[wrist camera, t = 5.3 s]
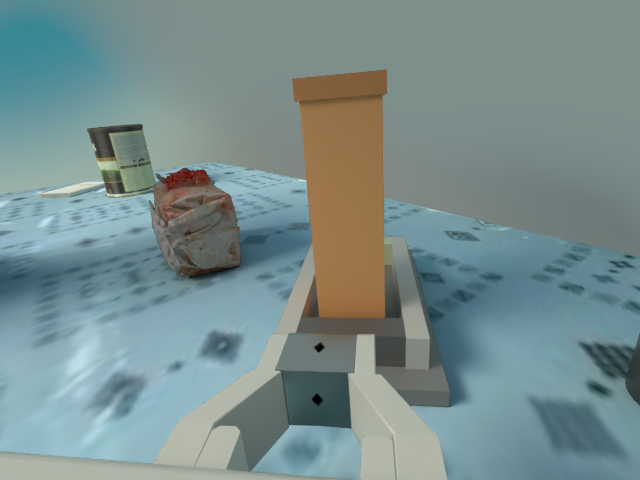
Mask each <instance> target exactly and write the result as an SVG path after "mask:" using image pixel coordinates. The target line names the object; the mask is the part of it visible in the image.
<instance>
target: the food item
mask: <svg viewBox="0 0 640 480" xmlns="http://www.w3.org/2000/svg"><path fill="white" fill-rule="evenodd" d="M206 173H207V172H205V170H198V169H197V171H193V170H192V171H190V170H189V169H187V168H183V169H181V170H180V171H178V172H177V173H174V174H170V176H167V178H164V177H161V176H160V175H159V174H156V177H157V179H159V180H160V182H158V183H156V184H155V185H154V187H153V194H154V199H155V201H154V203H155V208H154V206H153V204H152V202H151V201H150V200H149V204H150V210H151V216H152V228H153V229H154V232H155V234H156V237H157V242H158V244H159V247H160V249H161V251H162V254H163V257H164V259H166V261H167V262H168V264H169V266H170V268H172V269H173V270H174V271H175V272H176V273H177V275H178V273H179V274H180V276H181V277H184V276H196V275H201V274H206V273H210V272H216V271H220V270H224V269H228V268H232V267H236V266H239V265H240V264H239V263H240V261H241V256H240V243H239V234H238V231H239V227H238V226H237V221H238V220H237V217H236V213H235V209H234V205H233V203H232V198H231V196H230V195H229V194H227V193H225V192H224V191H222V190H220V189H218V188H217V187H216V186H214V183H215V181H213V180H210V178H209V177H208V175H207V174H206ZM157 175H158V176H157Z"/></svg>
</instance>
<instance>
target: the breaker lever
mask: <svg viewBox="0 0 640 480" xmlns="http://www.w3.org/2000/svg"><path fill="white" fill-rule="evenodd" d="M292 81H293V92H294V101H299V103H300V114H301V126H302V136H303V147H304V158H305V169H306V180H307V191H308V202H309V212H310V223H311V234H312V245H313V256H314V267H315V278H316V288H317V299H318V310H319V318H385V270H384V193H383V192H384V190H383V109H382V108H383V107H382V95H385V94H387V70H378V71H368V72H358V73H347V74H337V75H326V76H316V77H306V78H296V79H292Z"/></svg>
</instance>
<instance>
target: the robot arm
mask: <svg viewBox="0 0 640 480" xmlns="http://www.w3.org/2000/svg"><path fill="white" fill-rule="evenodd" d="M289 425H307V426H327V427H338V428H350V429H352V432H353V434H354V435H355V437H356V439H357V441H358V443H359V445H360V446H361V448H362V451H361V475H360V480H447V476H446V471H445V467H444V462H443V457H442V452H441V447H440V442H439V438H438V436H437V435H436V434H435V433H434V432H433V431H432V430H431V429H430V428H429V427H428V425H427V424H426V423H425V422H424V421H423V420H422V419H421V418H420V417H419V416H418V414H417V413H416V412H415V411H414V410H413V409H412V408H411V407H410V406H409V404H408V403H407V402H406V401H405V400H404V399H403V398H402V397H401V396H400V395H399V393H398V392H397V391H396V390H395V389H394V388H393V387H392V386H391V385H390V384H389V382H388V381H387V380H386V379H385V378H384V377H383V376H382V375H380V374H376V350H375V335H374V334H357V335H323V334H306V333H273V334H272V335H271V336H270V339H269V341H268V343H267V346H266V348H265V350H264V353H263V355H262V357H261V360H260V362H259V364H258V367H257V369H256V370H250V371H249V372H248V373H246V374H245V375H243V376H242V377H240V378H239V379H238V380H236V381H235V382H233V383H232V384H231V385H229V386H228V387H226V388H225V389H223V390H222V391H221V392H219V393H218V394H216V395H215V396H213V397H212V398H211V399H209V400H208V401H206V402H205V403H204V404H202V405H201V406H199V407H198V408H196V409H195V410H194V411H192V412H191V413H189V414H188V415H186V416H185V417H184V418H182V419H181V420H179V421H178V423H177V424H176V426H175V428H174V429H173V431H172V433H171V434H170V436H169V437H168V439H167V441H166V442H165V444H164V446H163V447H162V449H161V451H160V452H159V454H158V456H157V457H156V459H155V461H154V462H153V464H152V463H140V462H127V461H115V460H103V459H90V458H78V457H65V456H53V455H41V454H28V453H16V452H4V451H0V480H350V479H338V478H325V477H313V476H301V475H288V474H276V473H263V472H251V470H252V469H253V468H254V467H255V466H256V465H257V463H258V462H259V461H260V460H261V459H262V458H263V456H264V455H265V454H266V453H267V452H268V451H269V450H270V448H271V447H272V446H273V445H274V444H275V443H276V441H277V440H278V439H279V438H280V437H281V436H282V435H283V433H284V432H285V431H286V430H287V429H288V428H289Z"/></svg>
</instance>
